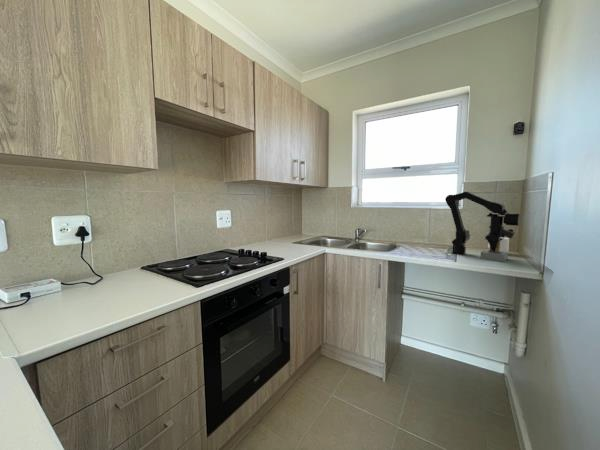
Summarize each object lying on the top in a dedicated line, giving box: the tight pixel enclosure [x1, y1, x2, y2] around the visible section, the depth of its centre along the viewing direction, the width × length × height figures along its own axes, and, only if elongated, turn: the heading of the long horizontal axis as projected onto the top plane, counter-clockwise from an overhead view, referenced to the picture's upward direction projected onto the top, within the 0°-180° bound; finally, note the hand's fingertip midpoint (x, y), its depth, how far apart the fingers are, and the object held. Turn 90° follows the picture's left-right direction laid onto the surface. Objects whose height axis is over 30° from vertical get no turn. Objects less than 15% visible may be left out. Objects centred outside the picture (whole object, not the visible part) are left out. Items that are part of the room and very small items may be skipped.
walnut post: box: [490, 241, 500, 253], centre depth 147 cm, size 4×4×10 cm
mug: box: [487, 237, 510, 253], centre depth 161 cm, size 12×8×10 cm
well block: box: [480, 249, 509, 263], centre depth 147 cm, size 11×11×4 cm
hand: (494, 250), depth 147 cm, fingers closed on walnut post, 4 cm apart
